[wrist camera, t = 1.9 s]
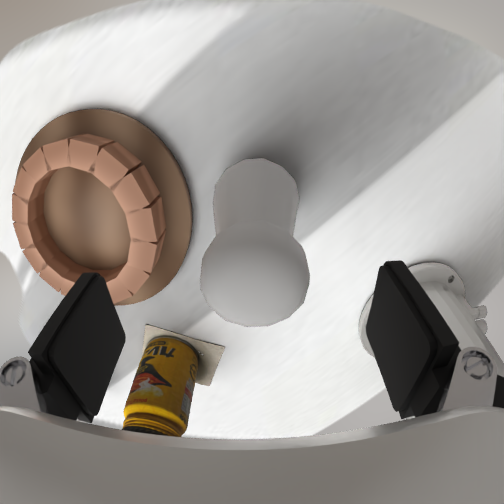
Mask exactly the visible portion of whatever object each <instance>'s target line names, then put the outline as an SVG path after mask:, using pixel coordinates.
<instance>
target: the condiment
mask: <svg viewBox="0 0 504 504" xmlns="http://www.w3.org/2000/svg"><path fill="white" fill-rule="evenodd" d="M224 349H225V347H222V346H218V345H214V344H211V343H206V342H203V341H200V340H195V339H193V338H189V337H186V336H183V335H180V334H177V333H173V332H170V331H167V330H164V329H160V328H157V327H154V326H150V325H146V326H145V334H144V343H143V352H142V359H141V361H140V363H139V367H138V370H137V372H136V375H135V378H134V380H133V384H132V387H131V390H130V393H129V396H128V399H127V401H126V405H125V408H124V416H125V420H124V423H123V429H122V430H125V431H131V432H138V433H146V434H154V435H163V436H173V437H181V435H183V434H184V433H185V431H186V429H187V426H188V419H189V413H190V407H191V402H192V396H193V391H194V387H195V382H196V383H198V384H201V385H206V386H210V383H211V380H212V378H213V376H214V373H215V370H216V368H217V366H218V363H219V361H220V358H221V356H222V353H223V351H224ZM198 351H200V352H201V353H202V354H203V356H202V355H201V353H199V352H198Z"/></svg>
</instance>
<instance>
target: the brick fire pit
mask: <svg viewBox="0 0 504 504" xmlns="http://www.w3.org/2000/svg"><path fill="white" fill-rule="evenodd" d="M13 192H14V193H13V194H12V220H13V221H15V222H14V223H13V225H14V228H15V232H16V235H17V238H18V241H19V244H20V247H21V249H25V250H24V251H22V252H23V253H24V255H25V256H26V258H27V259H28V261H29V262H30V264H31V265H32V267H33V268H34V270H35V271H36V273H39V272H40V271H41V272H40V275H39V276H40V277H41V278H42V279H43V280H45V281H46V282H47V283H48V284H49V285H50V286H52V287H53V288H54V289H55V290H56V291H58V292H59V291H60V290H61V294H63V295H65V296H66V294H67V293H68V292H69V290H70V289H71V288H72V286H73V285H74V284H75V282H76V281H77V280H78V278H79V277H80V276H81V274H82V273H88V272H97V273H99V274H100V275H101V276H102V277H104V279H105V281H106V284H107V287H108V290H109V293H110V295H111V298H112V301H113V304H114V305H128V304H134V303H138V302H141V301H144V300H146V299H148V298H150V297H152V296H154V295H155V294H157V293H158V292H160V291H161V290H162V289H163V288H165V287H166V286H167V285H168V284H169V283H170V282H171V280H172V279H173V278H174V276H175V275H176V274H177V272H178V270H179V268H180V266H181V265H182V262H183V260H184V258H185V255H186V252H187V250H188V247H189V243H190V238H191V233H192V205H191V200H190V194H189V190H188V187H187V184H186V181H185V178H184V175H183V173H182V171H181V169H180V167H179V165H178V163H177V161H176V159H175V158H174V156H173V155H172V153H171V152H170V150H169V149H168V148H167V146H166V145H165V144H164V143H163V142H162V140H161V139H160V138H159V137H158V136H157V135H156V134H154V133H153V132H152V131H151V130H150V129H149V128H147V127H146V126H145V125H143V124H142V123H140V122H139V121H137V120H135V119H133V118H131V117H129V116H127V115H125V114H122V113H119V112H115V111H112V110H105V109H86V110H79V111H75V112H70V113H67V114H65V115H62V116H60V117H58V118H56V119H54V120H53V121H51V122H49V123H48V124H47V125H46V126H44V127H43V128H42V129H41V130H40V131H39V132H38V133H37V134H36V135H35V136H34V138H33V139H32V140H31V142H30V143H29V145H28V146H27V148H26V150H25V152H24V154H23V156H22V158H21V161H20V164H19V167H18V171H17V176H16V182H15V186H14V189H13Z"/></svg>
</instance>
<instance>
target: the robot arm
mask: <svg viewBox="0 0 504 504" xmlns="http://www.w3.org/2000/svg"><path fill="white" fill-rule="evenodd" d="M486 315H487V309H486V306H484V305H483V306H478V307H474V308H472V307H471V306H470V305H469V304H468V302H467V301H466V300H465V287H464V284H463V282H462V279H461V278H460V277H459V276H458V274H457V273H456V272H455V271H454V270H453V269H452V268H451V267H449V266H447V265H445V264H441V263H436V262H430V263H422V264H418V265H414V266H411V267H409V268H407V266H406V265H405V264H404V262H403V261H386V262H385V263H384V266H381V267H380V268H379V272H378V277H377V281H376V286H375V291H374V294H373V295H372V297H371V298H370V299H369V301H368V302H367V304H366V306H365V308H364V310H363V312H362V314H361V318H360V321H359V335H360V339H361V342H362V344H363V347H364V348H365V350H366V351H367V352H368V353H369V354H370V355H371V356H373V357H375V359H376V361H377V364H378V366H379V369H380V372H381V375H382V377H383V380H384V383H385V386H386V388H387V391H388V394H389V397H390V400H391V402H392V405H393V408H394V410H395V411H396V412H397V411H399V413H400V416H401V419H404V418H406V420H403V421H398V422H394V423H389V424H384V425H379V426H373V427H368V428H363V429H357V430H351V431H345V432H338V433H330V434H322V435H313V436H303V437H291V438H274V439H200V438H185V437H173V436H163V435H154V434H146V433H138V432H131V431H125V430H119V429H113V428H108V427H103V426H98V425H93V424H88V423H92V421H93V418H94V416H96V415H97V414H98V413H99V410H100V407H101V404H102V401H103V399H104V396H105V393H106V390H107V388H108V385H109V382H110V379H111V377H112V374H113V371H114V369H115V366H116V364H117V361H118V359H119V356H120V354H121V351H122V348H123V346H124V344H125V332H124V330H123V327H122V325H121V322H120V320H119V317H118V314H117V312H116V309H115V307H114V304H113V301H112V298H111V295H110V293H109V290H108V287H107V284H106V281H105V279H104V277H102V276H101V275H100V274H99V273H97V272H88V273H82V274H81V276H80V277H79V278H78V280H77V281H76V282H75V284H74V285H73V286H72V288H71V289H70V290H69V292H68V293H67V294H66V296H65V297H64V299H63V300H62V301H61V303H60V304H59V306H58V307H57V308H56V310H55V311H54V313H53V314H52V316H51V317H50V319H49V320H48V322H47V323H46V325H45V326H44V328H43V329H42V331H41V332H40V334H39V335H38V337H37V338H36V340H35V342H34V343H33V345H32V346H31V348H30V350H29V351H28V353H29V355H30V356H31V360H30V362H29V361H28V360H27V359H26V358H24V357H14V358H11V359H10V360H8V361H7V362H6V363H4V364H3V366H2V367H1V368H0V504H504V363H503V361H502V360H501V358H500V357H499V355H498V354H497V352H496V351H495V349H494V348H493V346H492V345H491V343H490V342H489V340H488V339H487V337H486V336H485V334H486V332H487V324H486V322H485V320H477V321H475V319H480V318H485V317H486ZM77 419H78V420H80V421H84V422H88V423H84V422H79V421H76V420H77Z"/></svg>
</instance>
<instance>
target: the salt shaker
mask: <svg viewBox="0 0 504 504" xmlns="http://www.w3.org/2000/svg"><path fill="white" fill-rule="evenodd" d="M299 199H300V198H299V194H298V190H297V185H296V181H295V180H294V179H293V177H292V176H291V175H290V174H289V173H288V172H287V171H286V170H285V169H284V168H283V167H282V166H280V165H278V164H276V163H273V162H271V161H269V160H266V159H264V158H258V159H244V160H242V161H240V162H238V163H236V164H235V165H233V166H231V167H229V168H227V169H226V170H225V171H224V173H223V174H222V176H221V177H220V179H219V180H218V182H217V183H216V185H215V190H214V198H213V210H214V221H215V231H216V237H215V238H214V240H213V241H212V243H211V244H210V246H209V247H208V248H207V250H206V251H205V254H204V256H203V259H202V267H201V278H200V288H201V291H202V293H203V295H204V297H205V299H206V301H207V303H208V305H209V307H210V308H211V309H212V310H213V311H215V312H216V313H217V314H218V315H219V316H221V317H222V318H223V319H224V320H226V321H229V322H232V323H235V324H239V325H242V326H246V327H257V326H270V325H273V324H275V323H277V322H280V321H282V320H284V319H287V318H289V317H290V316H291V315H292V314H293V313H294V312H295V311H296V310H297V309H298V308H299V307H300V306H301V305H302V304H303V303H304V300H305V297H306V293H307V290H308V287H309V280H310V273H309V269H308V264H307V260H306V255H305V252H304V250H303V248H302V246H301V245H300V244H299V243H298V242H297V241H296V240H295V238H294V237H293V233H294V226H295V220H296V214H297V209H298V204H299Z"/></svg>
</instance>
